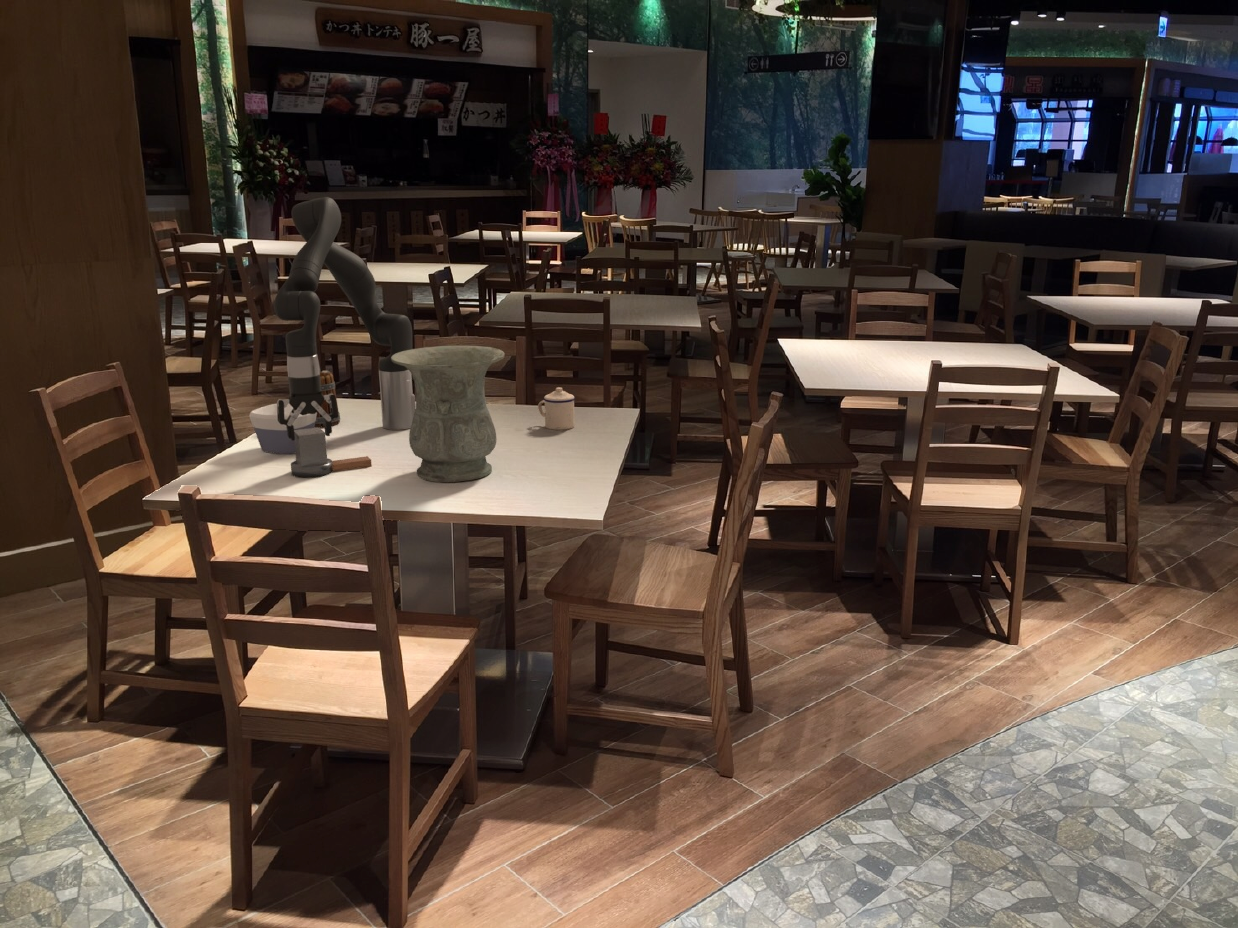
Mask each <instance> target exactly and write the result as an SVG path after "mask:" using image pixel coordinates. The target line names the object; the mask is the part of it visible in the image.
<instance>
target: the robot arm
mask: <svg viewBox="0 0 1238 928" xmlns="http://www.w3.org/2000/svg"><path fill="white" fill-rule="evenodd" d="M291 219H292V222H293V224H294V226H295V228H296V230H297V232H298V234H299V235H300V236H301V237H302V238H303V239H304V241H305V242H306V243H304V245H303V246H302V247H300V250H299V251H297V253H296V255H295V256H294V258H293V261H292V264H291V266H290V267H291V268H290V272H289V275H288V277H287V279H286V280H285V282H284V283H283V284H282V286H281V287H280V288H279V290H278V291H277V293H276V294H275V298H274V301H273V310H274V311H273V312H274V314H275V315H276V317H277V318H278V319H280V320H282V321H287V322H288V321H289V322H291V321H293V322H295V321H300V322H301V321H303V322H304V323H303V326H302V328H298V329H295V330H291V331H288V332H287V333H286V334H285V348H286V359H287V360H286V366H287V367H286V368H287V379H288V387H289V389H288V390H289V398H287V399H286V398H285V399H281V398H278V399H277V400H276V404H277V417H278V422H279V423H280V424H283V425H286V427H287V436H288V437H289V439H291V440H292V441H293V440H295V435H294V426H293V425H292V424H293V423H294V421H295V420H296V419H297V417H298V416H299V414H301V415H307V414H315V413H316V412H319V413H320V414H321V415H322V416H323V417H324V418H325V420H324V427H323V428H324V432H325V437H330V436H331V434H332V432H333V428H332V427H333V426H332V425H331V421H332V419H334V418H337V417H338V411H339V409H338V410H337V405H338V402H337V403H336V398H337V396H336V397H335V395H334V394H332V393H329V395H323V394H322V390H321V379H320V372H321V367H320V361H319V355H318V349H317V348H318V347H317V329H318V322H319V317H320V312H321V300H320V298H319V296H318V295H317V293H316V291H317V290H318V287H319V282H320V277H321V275H322V274H321V273H322V269H323V265H324V266H326V268H327V269H328V271H329V272H330V274H331V275H332V277H333V278H334V280H335V282H336V284H337V285H338V286H339V288H340V289H341V290H342V292H343V293H344V295H345V296H346V297H347V299H348V300H349V301H350V304H351V305H352V306H353V308H354V309H355V311H356V312H357V314H358V315H359V318H360V320H362V323H363V325H364V326H365V329H366V331H367V332H368V334H369V335H370V336H369V337H371V339H372V340H373V341H374V343H376V344H377V345H380V346H385V347H387V346H388V347H390V352H389V355H388V356H386V357H382V358H381V359H379V360H378V377H379V390H380V391H379V392H380V407H381V418H382V419H381V422H382V428H383V429H385V430H392V431H399V430H408V429H411V425H412V421H413V417H414V413H415V410H416V396H415V395H416V394H414V393H413V381H412V380H413V376H412V374H411V372H410V371H409V370H408V369H407V368H406V367H405V366H403V365H399V364H395V363H393V362H392V360H391V357H392V356H393V355H394V354H396V353H399V352H402V351H406V350H412V349H413V327H412V323H411V321H410V319H409V317H408V316H407V315H404V314H398V313H386V312H384V311H383V310H382V309H381V307H380V306H379V304H378V303H377V301H376V299H375V297H376V294H375V293H376V280H375V277H374V275H373V274H372V271H371V270H370V269H369V267H368V266H367V264H366V263H365V261H364V260H363V259H362V258H361V257H360V256H359V255H357V254H355V253H354V252H352V251H351V250H349V249H347V248H345V247H343V246H341V245H339V244H338V243H336V242H335V238H336V237H337V235H338V233H339V230H340V228H341V226H342V225H341V224H342V213H341V210H340V208H339V205H338V204H337V203H336V201H335V200H334V198H331V197H329V196H323V197H322V196H321V197H318V198H317V197H316V198H314V199H310V200H306V201H302V202H300V203H297V204H295V205H294V206H293V207H292V209H291ZM324 400H326V401H327V402H328V403H330V409H331V413H330V414H327V413H326V412H325V411H324V410H323V409H322V408H321V405H322V403H323V402H324ZM288 404H290V405H291V406H292V407H293V409H292V411H291V412H290V414H289V416H288V418H287V419H284V408H286V407H287V405H288ZM296 413H297V414H296Z"/></svg>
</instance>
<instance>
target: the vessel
mask: <svg viewBox="0 0 1238 928" xmlns="http://www.w3.org/2000/svg"><path fill="white" fill-rule="evenodd" d="M504 358H505V352H504V351H503V350H502V349H499V348H496V347H490V346H481V345H480V346H479V345H439V346H425V347H419V348H412V350H406V351H402V352H399V353H396V354H394V355H393V356H392V357H391V360H392V362H393V363H395V364H399V365H403V366H405V367H406V368H407V369H408V370H409V371H410V372H411V376H412V380H413V381H414V387H415V391H416V393H415V395H416V396H415V407H416V410H415V413H414V417H413V421H412V425H411V428H409V434H408V442H409V447H410V449H411V451H412V453H413V454H414V455H415V456H416V457H418V458H420V459H421V462H420V463H421V464H420V466H418V468H417V469H416V474H417V476H418V478H421V479H423V480H424V481H429V482H433V483H434V482H435V483H454V482H455V483H457V482H466V481H472V480H478V479H480V478H481V479H482V478H484V477H486V476H488V475H489V474H491V473H492V472H493V471H492V470H493V467H492V465H491V464H490V463H489V462H488V461H487V457H486V456H488V455H491V453H492V452H493V451H494V450H495V447H496V445H497V440H498V439H497V431H496V428H495V424H494V422H493V419H492V417H491V413H490V411H489V409H488V406H487V400H486V395H485V376H486V374H487V371H488V369H489V368H490V366H491V365H493V363H497V362H500V361H502V360H503V359H504Z"/></svg>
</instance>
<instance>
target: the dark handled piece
mask: <svg viewBox="0 0 1238 928" xmlns="http://www.w3.org/2000/svg"><path fill="white" fill-rule="evenodd" d="M327 461H328V464H324V465H316V466H308V467H301V466H300V465H299V464H298V463H297V462H296V460H294V461H292V462H290V472H291V473H290V474H291V476H292V475H293V477H294V476H295V478H300V479H312V478H321V477H325V476H328V475H331V474H332V473H333V472H339V471H345V470H347V471H349V470H354V469H360V468H361V469H362V468H363V469H364V468H369V467H372V459H371V458H370V457H369V456H368V455H366V456H361V457H360V456H359V457H353V458H344V459H343V458H342V459H337V460H332V459H331V458H329V457H327Z"/></svg>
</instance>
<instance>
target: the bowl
mask: <svg viewBox="0 0 1238 928" xmlns="http://www.w3.org/2000/svg"><path fill="white" fill-rule="evenodd" d="M292 409H293V407H292V406H291V405H290V404H288V405H287V407H286V408H284V419H287V418H288V416H289V414H290V412H291V411H292ZM296 414H297V413H296ZM316 416H317V412H316V413H315V414H307V415H301V414H299V416H298V417H297V419H296V420H295V421H294V423H293V424H292V425H293V426H294V430H301V429H310V428H315V421H316ZM249 419H250V422H251V425H252V428H253V430H254V433H255V435H256V438H257V440H258V443H259V446H260V449H261V451H262V452H264V453H269V454H276V455H291V454H292V455H293V454H296V453H295V443H294V440H293V441H292V440H291V439H289V437H288V436H287V427H286V425H283V424H280V423H279V422H278V417H277V403H274V404H273V403H272V404H268V405H264V406H262V407H258V408H255V409H253V410H251V411H250V412H249Z"/></svg>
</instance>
